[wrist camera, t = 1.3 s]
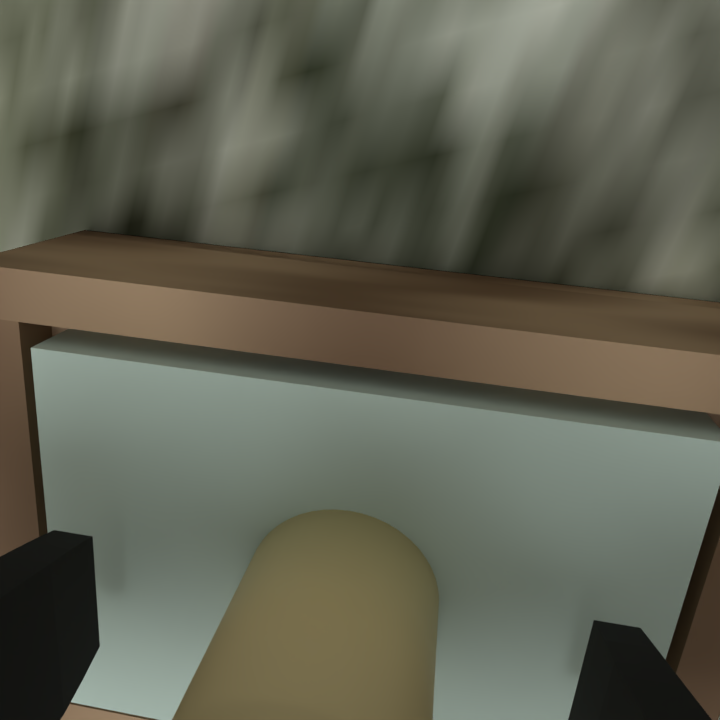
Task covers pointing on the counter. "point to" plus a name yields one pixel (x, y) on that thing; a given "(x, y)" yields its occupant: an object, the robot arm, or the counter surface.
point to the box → (360, 355)
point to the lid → (357, 531)
